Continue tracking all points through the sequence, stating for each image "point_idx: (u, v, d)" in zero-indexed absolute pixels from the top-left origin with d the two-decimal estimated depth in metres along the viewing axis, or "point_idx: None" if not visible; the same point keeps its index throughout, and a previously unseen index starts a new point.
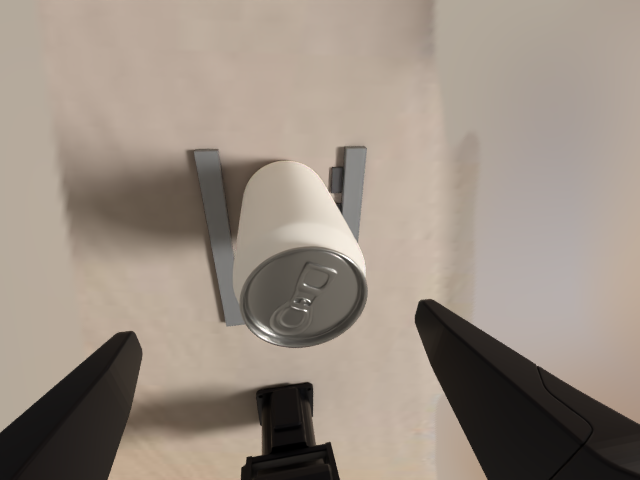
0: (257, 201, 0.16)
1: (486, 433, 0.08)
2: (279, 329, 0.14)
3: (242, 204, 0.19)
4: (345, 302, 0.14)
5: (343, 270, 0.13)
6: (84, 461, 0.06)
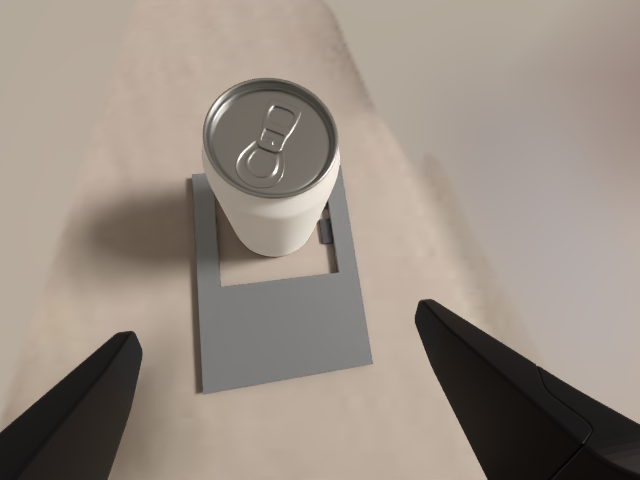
0: None
1: (486, 433, 0.08)
2: (247, 179, 0.12)
3: None
4: (317, 147, 0.13)
5: (307, 110, 0.13)
6: (84, 461, 0.06)
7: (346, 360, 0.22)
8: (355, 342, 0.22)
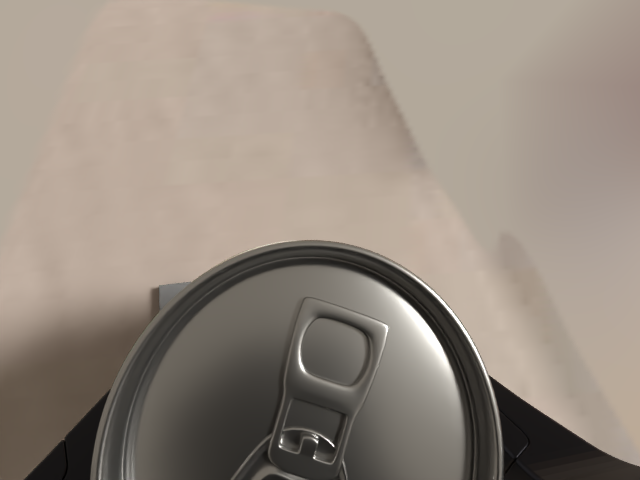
0: None
1: None
2: None
3: None
4: (439, 440, 0.05)
5: (402, 320, 0.05)
6: None
7: None
8: None
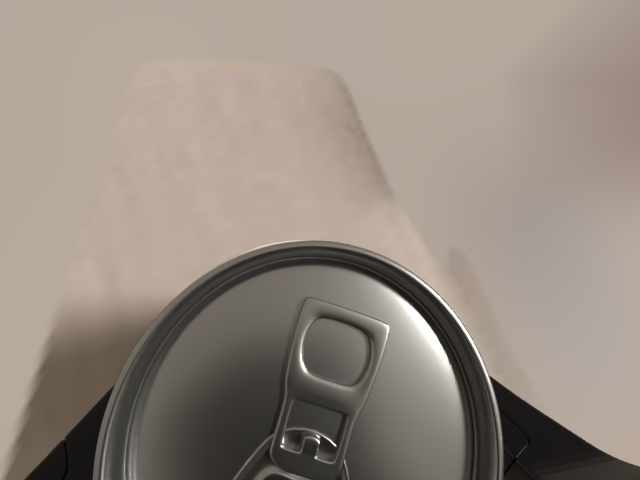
0: None
1: None
2: None
3: None
4: (440, 440, 0.05)
5: (403, 320, 0.05)
6: None
7: None
8: None
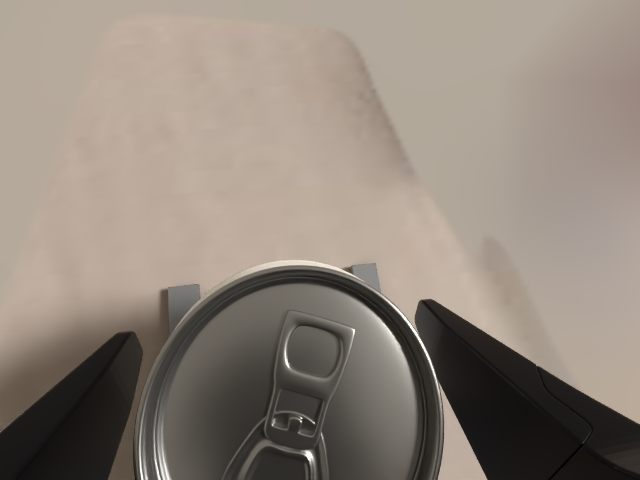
0: None
1: (486, 433, 0.08)
2: None
3: None
4: (396, 416, 0.06)
5: (366, 324, 0.06)
6: (84, 461, 0.06)
7: None
8: None
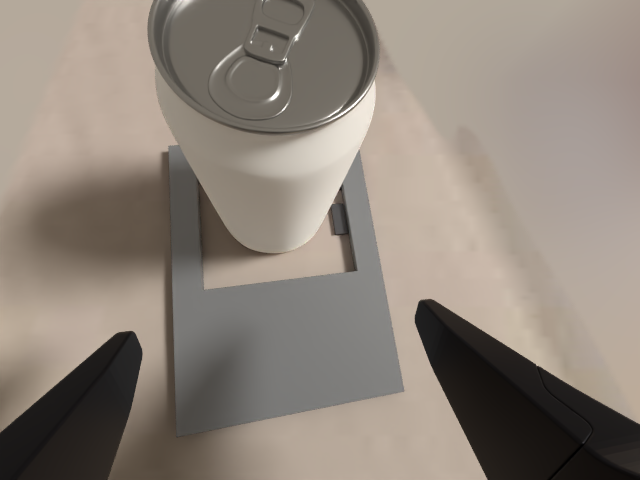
0: None
1: (486, 433, 0.08)
2: (230, 105, 0.07)
3: None
4: (345, 57, 0.08)
5: (324, 2, 0.08)
6: (84, 461, 0.06)
7: (369, 387, 0.16)
8: (381, 362, 0.17)
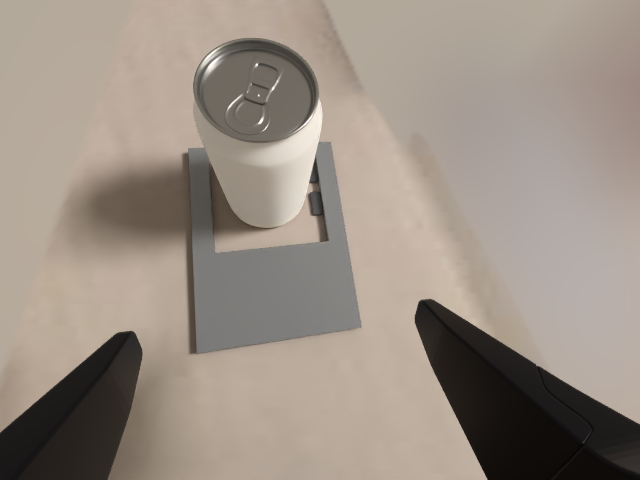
0: None
1: (486, 433, 0.08)
2: (236, 127, 0.13)
3: None
4: (300, 99, 0.14)
5: (289, 67, 0.14)
6: (84, 461, 0.06)
7: (335, 323, 0.22)
8: (345, 306, 0.23)
